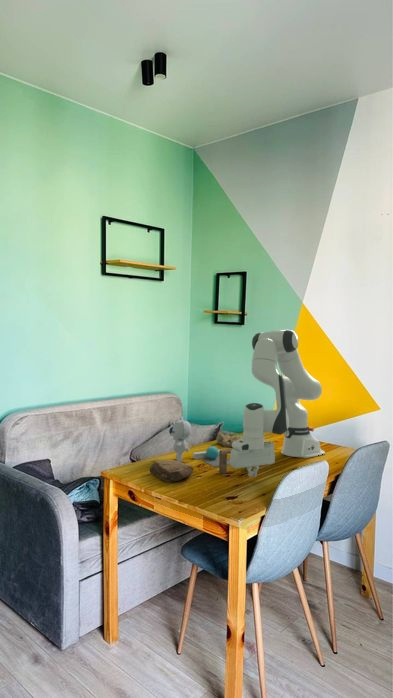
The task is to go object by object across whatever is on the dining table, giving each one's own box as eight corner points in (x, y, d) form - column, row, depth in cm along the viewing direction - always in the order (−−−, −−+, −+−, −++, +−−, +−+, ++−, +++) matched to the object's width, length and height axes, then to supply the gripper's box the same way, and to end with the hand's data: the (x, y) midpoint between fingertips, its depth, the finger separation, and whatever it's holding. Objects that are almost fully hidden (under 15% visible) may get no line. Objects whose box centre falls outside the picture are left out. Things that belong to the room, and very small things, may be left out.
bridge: (219, 472, 205) (219, 450, 205) (248, 468, 212) (248, 447, 211) (222, 474, 202) (222, 451, 202) (251, 470, 209) (252, 448, 209)
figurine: (224, 430, 264) (256, 435, 253) (223, 444, 264) (255, 449, 252) (213, 431, 255) (245, 436, 243) (212, 445, 254) (244, 450, 243)
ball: (214, 455, 230) (215, 444, 229) (220, 460, 225) (221, 448, 224) (203, 456, 228) (204, 445, 227) (209, 461, 222) (210, 450, 221)
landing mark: (223, 457, 229) (223, 457, 229) (236, 464, 218) (236, 463, 218) (201, 460, 224) (201, 459, 224) (213, 466, 213) (213, 466, 213)
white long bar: (221, 454, 235) (222, 449, 235) (224, 455, 232) (224, 450, 232) (193, 457, 228) (193, 452, 228) (195, 459, 225) (195, 453, 225)
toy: (168, 456, 230) (169, 415, 229) (189, 455, 231) (190, 415, 230) (169, 465, 213) (170, 422, 212) (192, 465, 214) (193, 422, 213)
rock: (202, 467, 198) (181, 469, 185) (198, 484, 197) (177, 487, 185) (165, 455, 209) (144, 456, 197) (162, 471, 209) (140, 473, 196)
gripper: (269, 439, 202) (268, 471, 202) (228, 443, 193) (227, 476, 193) (278, 442, 196) (277, 475, 197) (236, 447, 187) (235, 481, 188)
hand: (252, 476), depth 195 cm, fingers closed
